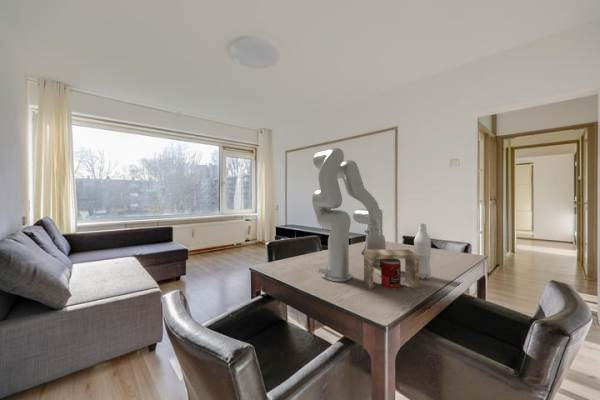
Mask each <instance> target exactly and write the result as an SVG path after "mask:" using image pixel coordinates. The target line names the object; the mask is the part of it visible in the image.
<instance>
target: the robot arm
mask: <svg viewBox="0 0 600 400" xmlns="http://www.w3.org/2000/svg"><path fill="white" fill-rule="evenodd" d="M344 159H345V154H344V151H343V150H342V149H341V148H339V147H333V148H329V149H325V150H321V151H318V152H316V153H315V154H314V156H313V159H312V161H313V165H314V167H315V168H316V169H318V170H319V172H318V179H317V180H318V184H319V189H316V190H315V191H314V192H313V194H312V196H311V197H312V198H311V202H312V207H313V210H314V215H315V217H316V221H317V224H318V225H319V226H320V227H321V228H323V229H327V230H330V233H329V236H328V238H327V251H328V252H327V253H328V254H327V257H328V258H327V259H328V260H327V264H328V265H327V266H326V267H325V268H322V267H321V268H318V273H321V274H324V277H325V279H326V280H328V281H330V282H331V281H332V282H337V283H338V282H341V283H342V282H348V281H351V280H352V279H353V274H352V273H350V271H349V270H350V267H349V263H350V261H349V259H350V257H349V256H350V255H349V250H350V249H349V247H350V246H349V244H350V243H349V241H350V240H349V239H350V238H349V235H350V228H351V223H352V222H351V221H352V219H353V220H354V222H355V223H358V224H363V225H367V228H366V230H364V233H365V234H366V235H365V242H364V248H363V249H362V251H361V253H360V254H361V255H362V256H364V250H387V245H386V237H385V235H384V234H383V224H384V223H383V222H384V221H383V220H384V219H383V210H382V209H380V206H379V203H378V202H377V200H376V198H375V197H374V196H373V195H372V194H371V192H370V191H368V190H367V189H366V187H365V185H364V182H363V178H362V177H361V173H360V170H359V167H358V165H357V163H356V161H354V160H352V159H349V160H347V159H346V160H344ZM339 179H342V181H343V183H344V186H345V189H346V193H347V194H348V195H349V196H350V197H351V198H353V199H355V200H356V201H358V202H360V203H361V204H362V206H364V208H358V209H356V210H355V211H354V212H353V213H352V219H351V216H350V215H349V213H348V212H346V211H344V210H339V209H338V208H340V207H341V206H342V204H343V197H342V193H341V188H340V185H339ZM380 268H381V259H380Z"/></svg>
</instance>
